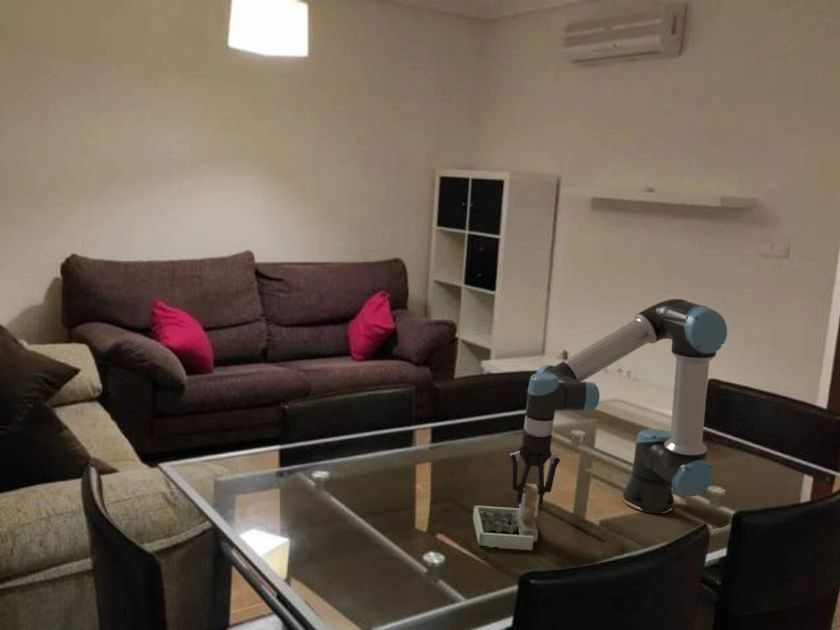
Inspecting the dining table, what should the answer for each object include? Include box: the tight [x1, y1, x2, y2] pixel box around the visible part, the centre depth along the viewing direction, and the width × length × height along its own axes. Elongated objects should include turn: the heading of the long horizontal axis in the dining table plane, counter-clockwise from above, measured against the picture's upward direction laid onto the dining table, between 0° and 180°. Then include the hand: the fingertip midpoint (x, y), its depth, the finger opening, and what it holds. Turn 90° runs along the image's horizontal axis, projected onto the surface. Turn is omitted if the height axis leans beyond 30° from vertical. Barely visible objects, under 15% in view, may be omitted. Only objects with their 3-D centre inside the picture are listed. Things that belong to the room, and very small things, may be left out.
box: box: [472, 505, 534, 551], centre depth 210 cm, size 14×17×4 cm
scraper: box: [516, 483, 539, 543], centre depth 209 cm, size 4×12×13 cm, turn 1°
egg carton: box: [479, 510, 519, 534], centre depth 214 cm, size 11×8×4 cm
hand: (527, 514), depth 210 cm, fingers closed on scraper, 3 cm apart
